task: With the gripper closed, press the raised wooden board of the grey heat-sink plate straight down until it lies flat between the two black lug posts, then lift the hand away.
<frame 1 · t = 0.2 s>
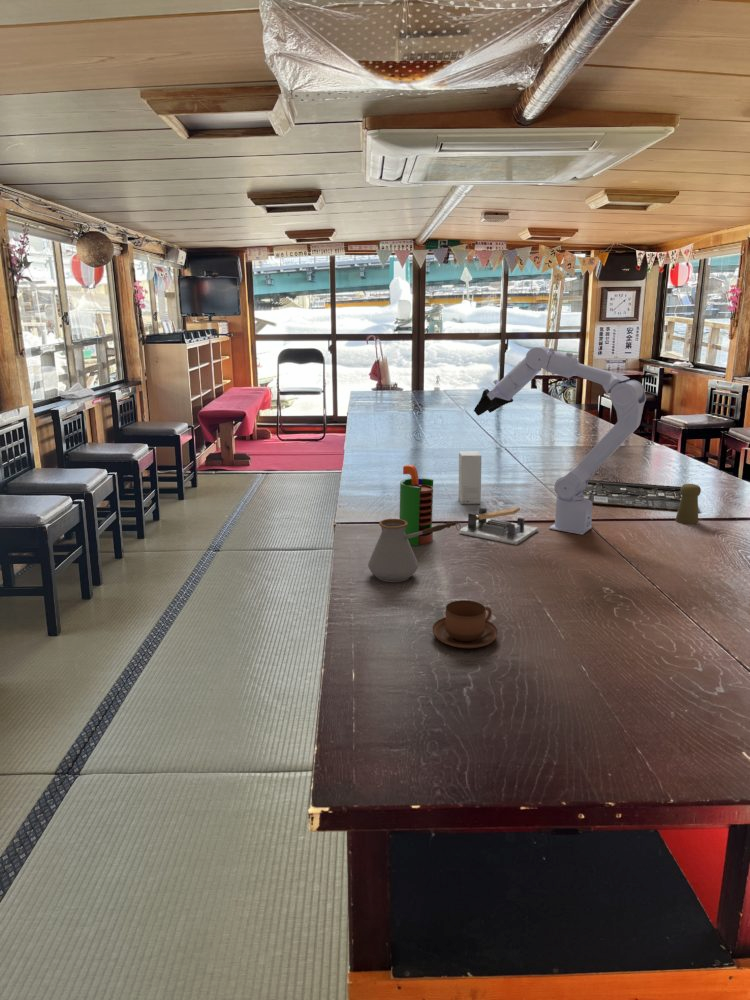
hand: (482, 411, 197), 31 cm above the table, tool tilted 45°, fingers open, 7 cm apart
heatsink plate: (498, 532, 187), on the table
skincare box: (468, 501, 218), on the table
coffee pot: (413, 580, 155), on the table
wooden board: (495, 514, 186), point 5 cm above the table, hinge at 18.0°
cork: (686, 522, 195), on the table
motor: (415, 540, 181), on the table
laptop interior: (635, 499, 221), on the table
cup and saucer: (464, 639, 127), on the table
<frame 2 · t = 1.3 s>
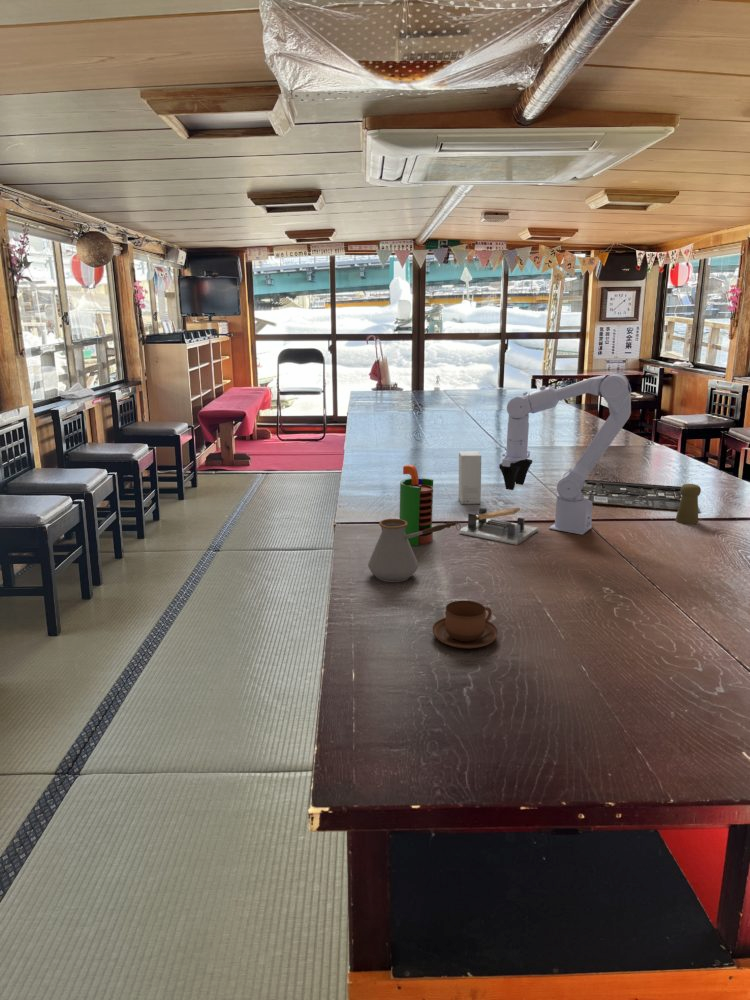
hand: (514, 486, 193), 10 cm above the table, tool pointing down, fingers open, 6 cm apart
nothing on the table moved.
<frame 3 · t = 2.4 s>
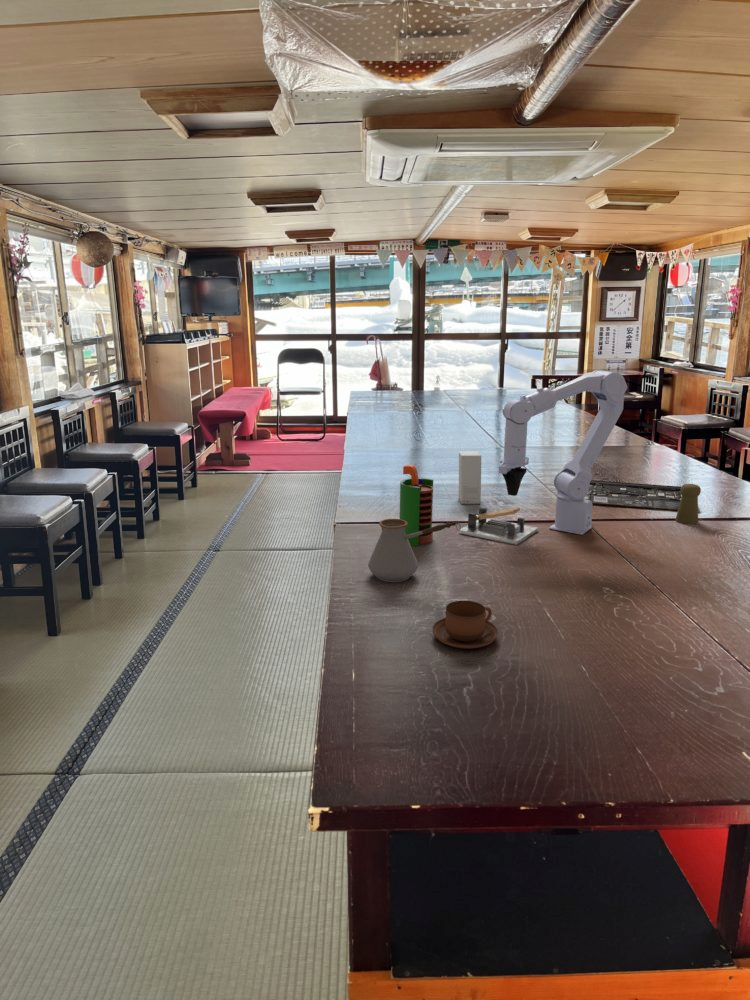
hand: (512, 494, 185), 10 cm above the table, tool pointing down, fingers closed
nothing on the table moved.
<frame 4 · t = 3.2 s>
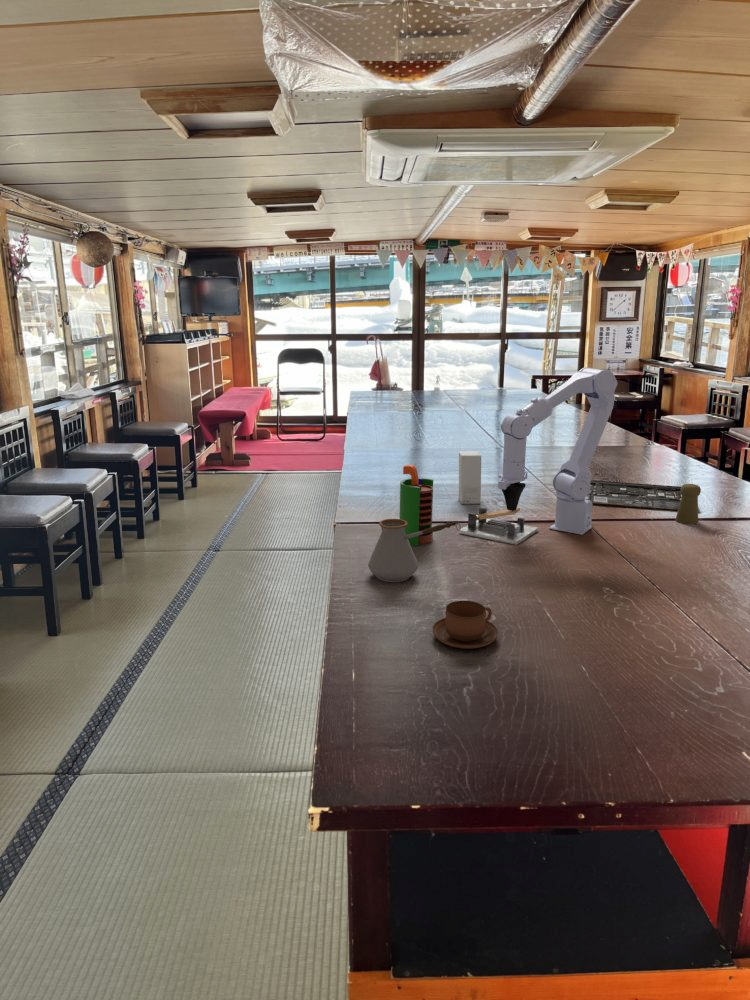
hand: (511, 509, 183), 7 cm above the table, tool pointing down, fingers closed, pressing on wooden board
wooden board: (495, 514, 186), point 5 cm above the table, hinge at 17.7°, touching gripper
everything else where it was.
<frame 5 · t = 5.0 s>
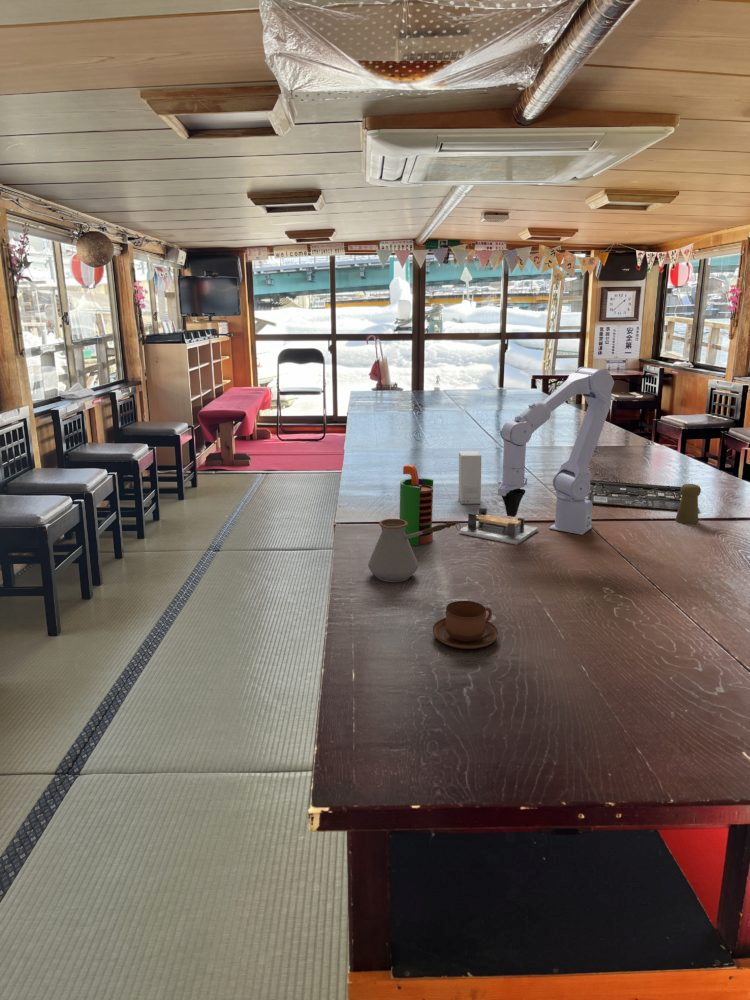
hand: (511, 515, 184), 5 cm above the table, tool pointing down, fingers closed
wooden board: (496, 520, 187), point 3 cm above the table, hinge at 0.1°
everything else where it was.
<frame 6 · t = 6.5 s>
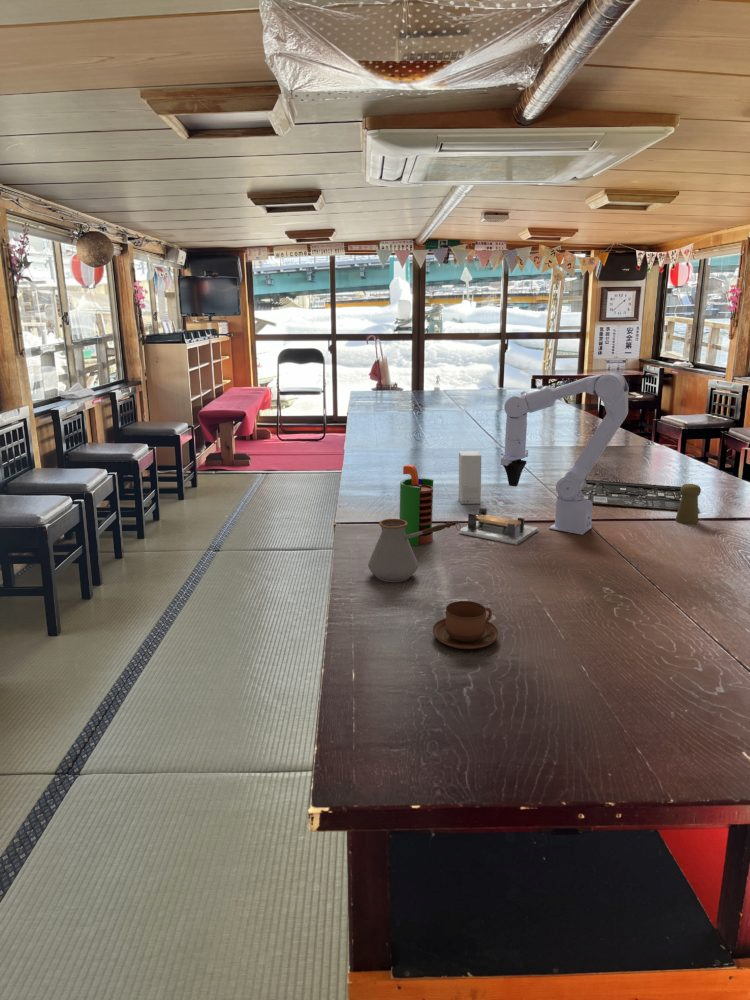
hand: (513, 485, 194), 10 cm above the table, tool pointing down, fingers closed
nothing on the table moved.
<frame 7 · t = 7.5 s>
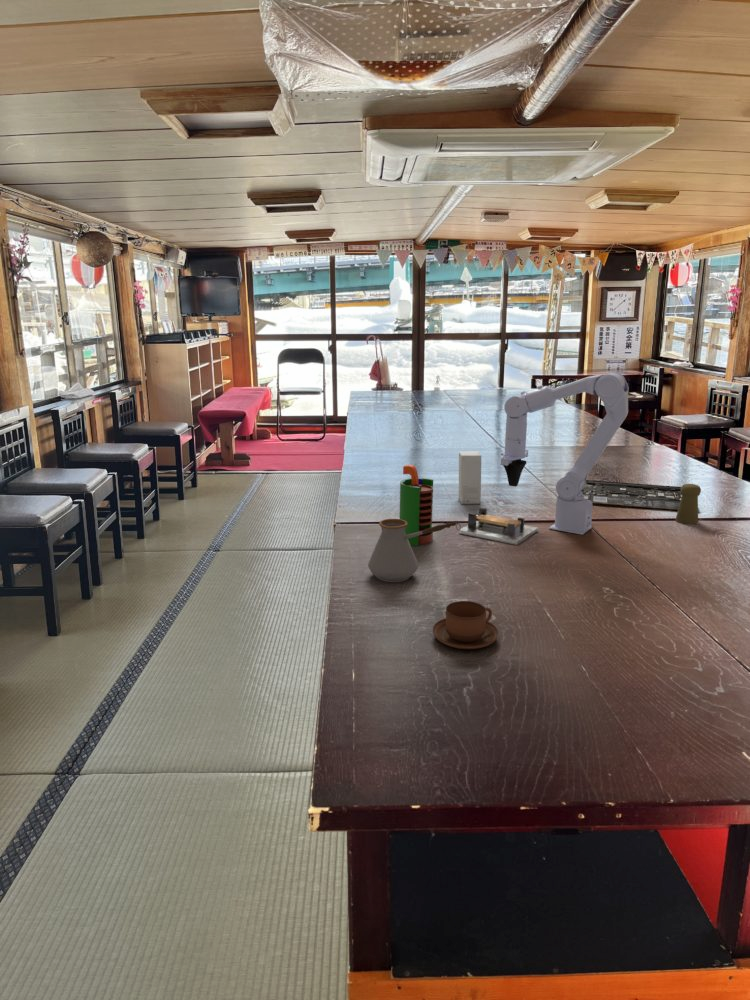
hand: (513, 485, 194), 10 cm above the table, tool pointing down, fingers closed
nothing on the table moved.
at the end: wooden board at +0° (first picture: +18°) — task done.
